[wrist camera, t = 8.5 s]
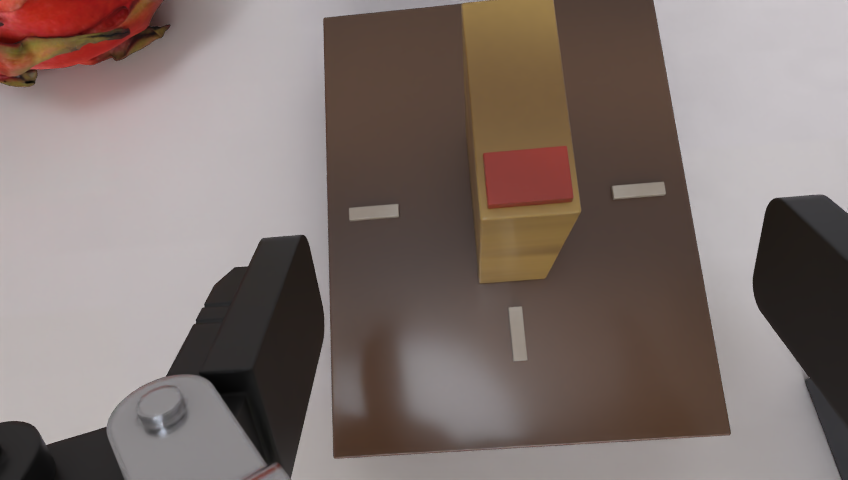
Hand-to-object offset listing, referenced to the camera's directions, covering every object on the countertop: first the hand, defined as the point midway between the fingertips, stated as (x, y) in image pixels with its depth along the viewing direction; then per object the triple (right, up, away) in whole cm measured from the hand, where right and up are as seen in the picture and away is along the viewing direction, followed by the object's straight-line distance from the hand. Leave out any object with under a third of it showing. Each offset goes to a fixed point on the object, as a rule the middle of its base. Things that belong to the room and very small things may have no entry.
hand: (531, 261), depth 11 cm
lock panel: (+1, +1, +9) cm, 9 cm away
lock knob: (0, +1, +6) cm, 6 cm away
